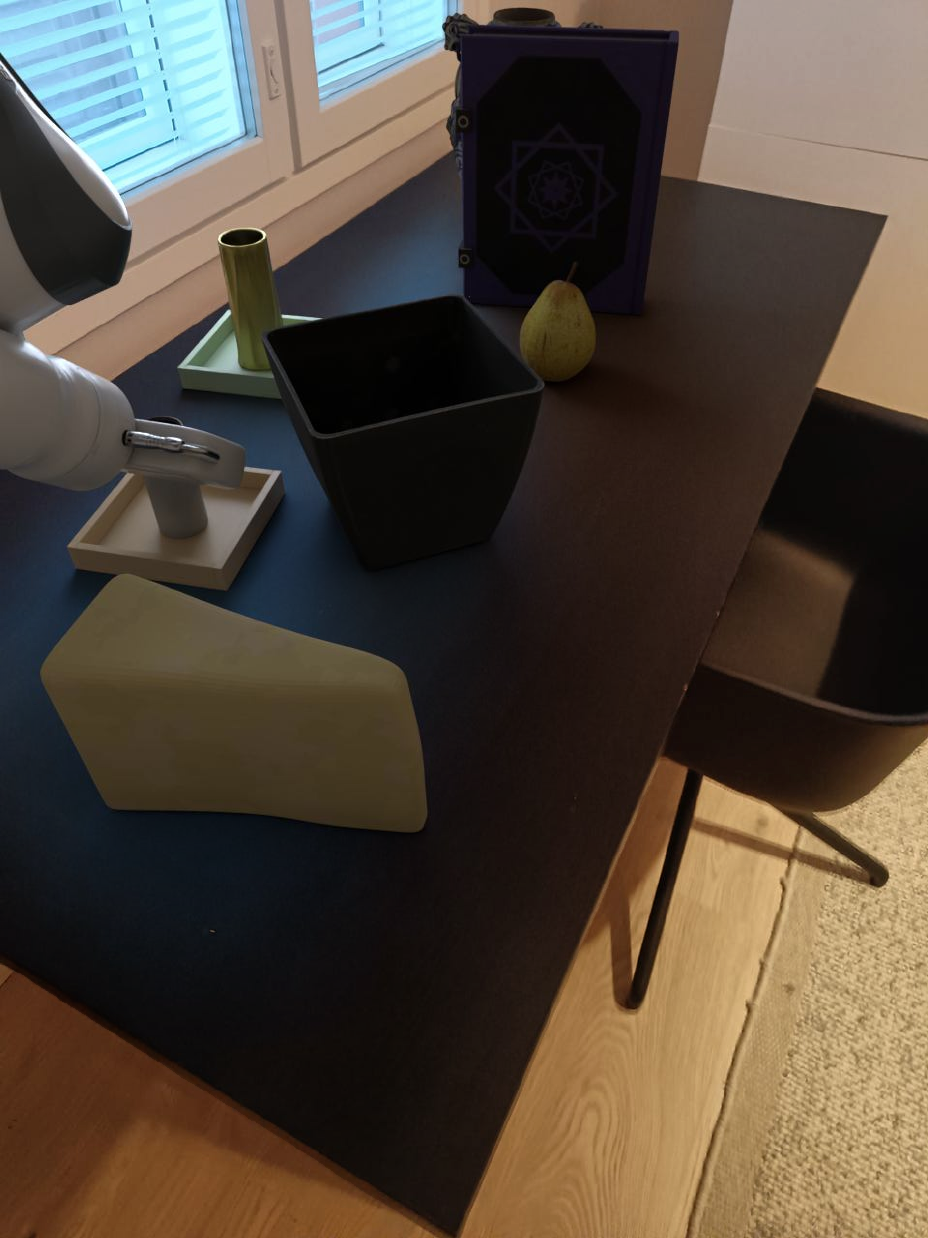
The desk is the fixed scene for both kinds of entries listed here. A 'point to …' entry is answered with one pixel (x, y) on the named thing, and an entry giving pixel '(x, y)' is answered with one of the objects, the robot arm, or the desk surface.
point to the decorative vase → (453, 43)
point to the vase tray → (227, 363)
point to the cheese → (234, 714)
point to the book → (562, 160)
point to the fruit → (558, 332)
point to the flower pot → (408, 422)
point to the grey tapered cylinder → (176, 501)
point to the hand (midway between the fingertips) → (166, 463)
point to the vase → (250, 292)
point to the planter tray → (208, 559)
